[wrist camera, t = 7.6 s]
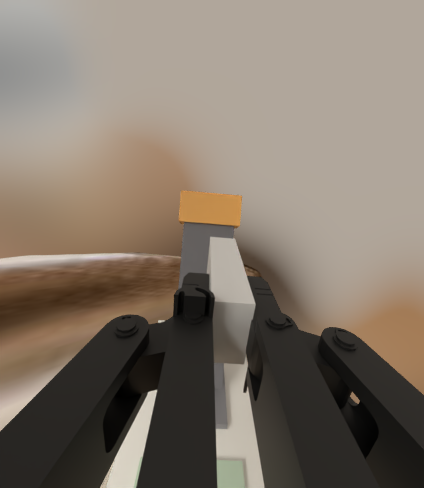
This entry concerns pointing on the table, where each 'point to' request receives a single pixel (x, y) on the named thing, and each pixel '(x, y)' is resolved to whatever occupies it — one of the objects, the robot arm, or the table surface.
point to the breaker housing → (227, 437)
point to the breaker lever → (206, 235)
